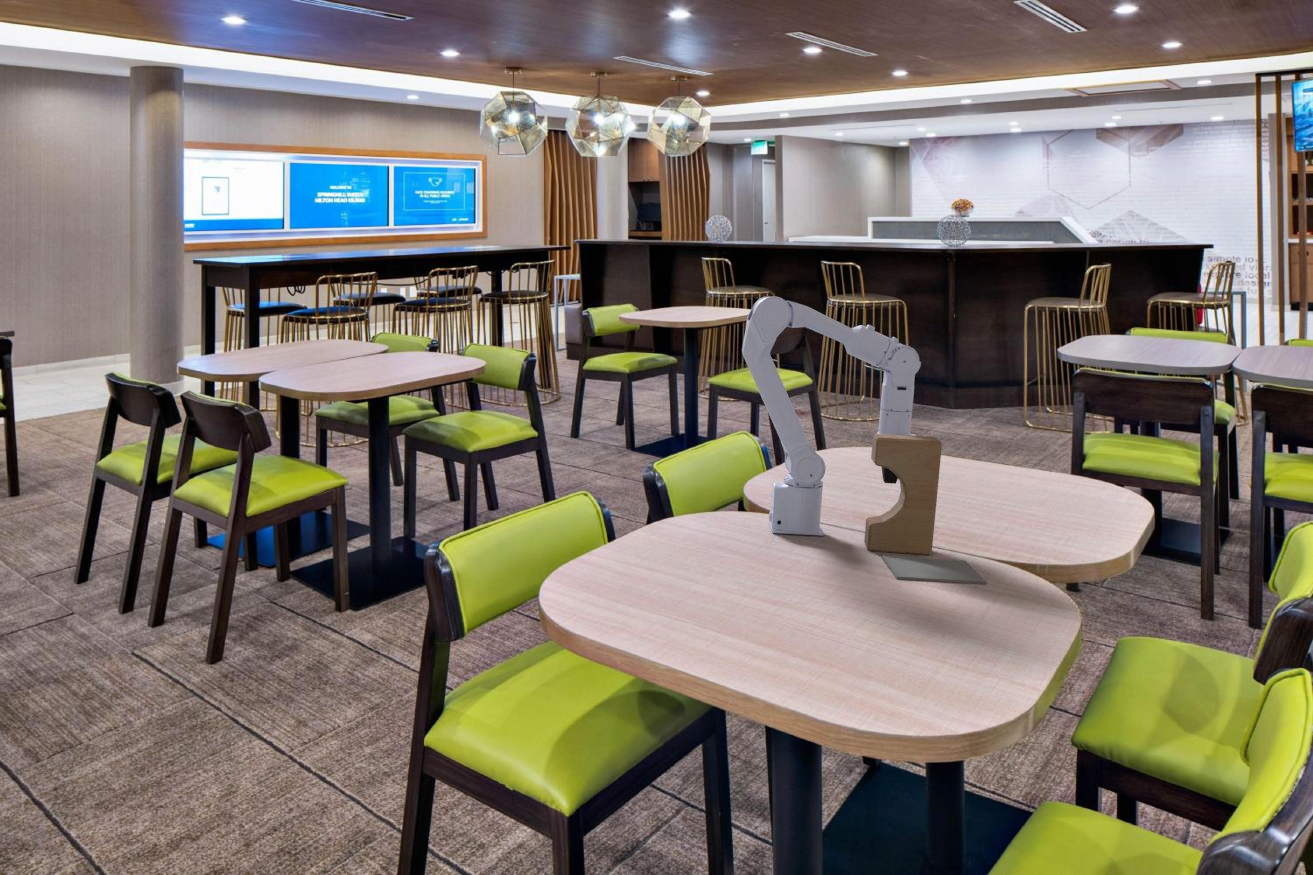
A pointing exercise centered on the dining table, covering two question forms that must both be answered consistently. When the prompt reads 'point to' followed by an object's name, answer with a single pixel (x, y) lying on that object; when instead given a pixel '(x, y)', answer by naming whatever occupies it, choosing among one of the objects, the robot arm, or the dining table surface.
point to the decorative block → (906, 494)
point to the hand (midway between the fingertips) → (889, 482)
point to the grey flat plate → (933, 570)
